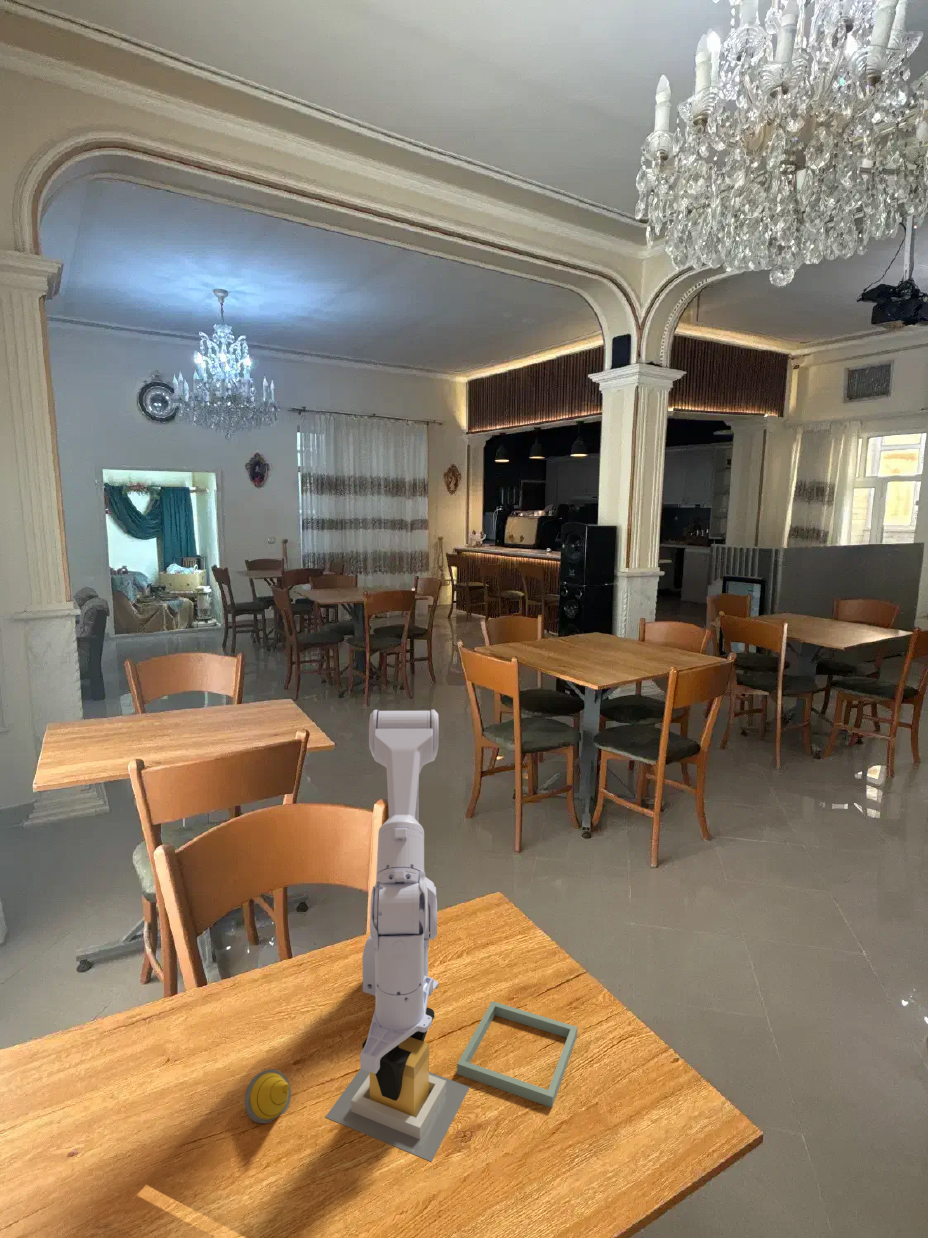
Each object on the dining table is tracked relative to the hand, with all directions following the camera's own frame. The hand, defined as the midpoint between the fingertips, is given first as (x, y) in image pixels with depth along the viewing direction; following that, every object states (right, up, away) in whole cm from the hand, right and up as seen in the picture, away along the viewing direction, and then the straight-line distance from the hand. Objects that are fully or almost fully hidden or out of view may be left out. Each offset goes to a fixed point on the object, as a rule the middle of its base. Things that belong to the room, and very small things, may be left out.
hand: (399, 1081), depth 82 cm
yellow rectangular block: (0, -2, 0) cm, 2 cm away
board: (0, -3, 0) cm, 3 cm away
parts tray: (+15, -3, +8) cm, 17 cm away
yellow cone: (-15, -4, -1) cm, 15 cm away
